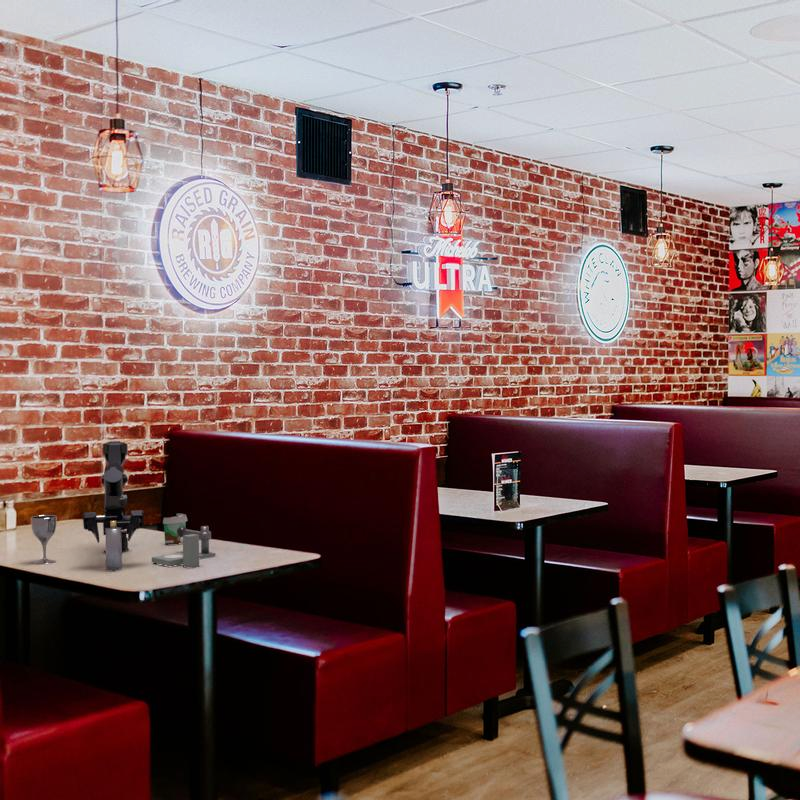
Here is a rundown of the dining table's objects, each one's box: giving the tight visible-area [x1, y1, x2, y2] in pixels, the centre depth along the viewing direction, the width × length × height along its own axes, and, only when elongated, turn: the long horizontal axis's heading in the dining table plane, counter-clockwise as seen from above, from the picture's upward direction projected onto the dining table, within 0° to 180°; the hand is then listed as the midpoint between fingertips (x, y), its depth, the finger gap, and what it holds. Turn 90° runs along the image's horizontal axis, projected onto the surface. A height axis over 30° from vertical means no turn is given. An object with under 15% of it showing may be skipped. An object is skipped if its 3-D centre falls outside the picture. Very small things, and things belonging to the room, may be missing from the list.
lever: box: [177, 525, 212, 553], centre depth 340 cm, size 17×4×9 cm, turn 48°
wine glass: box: [30, 514, 58, 565], centre depth 328 cm, size 8×8×15 cm
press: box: [151, 534, 217, 568], centre depth 326 cm, size 16×22×10 cm
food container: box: [162, 513, 188, 545], centre depth 364 cm, size 12×6×10 cm, turn 168°
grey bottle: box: [105, 520, 123, 571], centre depth 314 cm, size 5×5×15 cm
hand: (113, 541), depth 315 cm, fingers open, 9 cm apart
